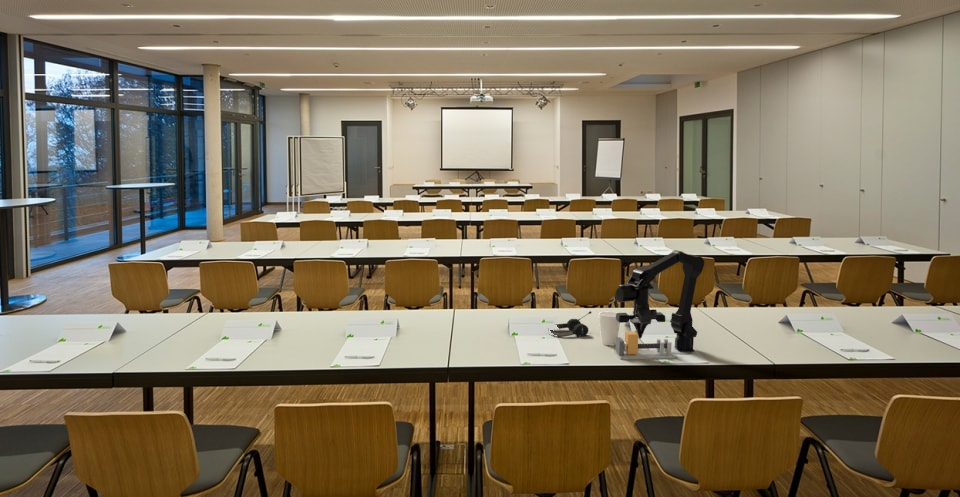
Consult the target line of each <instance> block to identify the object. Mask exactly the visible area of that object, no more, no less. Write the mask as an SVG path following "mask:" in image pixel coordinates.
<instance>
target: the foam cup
mask: <svg viewBox="0 0 960 497" xmlns="http://www.w3.org/2000/svg"><path fill="white" fill-rule="evenodd" d="M617 313H619V312H618V311H612V310H611V311H607V310H606V311H605V310H604V311H600V312H598V324H599V332H600V341H601V344H602V345H603V344H604V346H608V345H612V346H616V337H619V332H620V325H621V323H620V322H618V321H617V320H616V314H617Z"/></svg>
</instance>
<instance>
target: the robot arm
mask: <svg viewBox="0 0 960 497" xmlns="http://www.w3.org/2000/svg"><path fill="white" fill-rule="evenodd" d="M678 263H681V264H682V270H683V274H684V278H683V281H682V282H683V283H682V287H681V294H680V300H679V304H678V309H677V310H676V312H671V317H670V320H669V323H670V327H671V328H672V330H673V333H674V334H676V337H675V338H674V349H675V350H677V351H678V352H695V349H694V341H695V340H694V338H696V337H697V335H698V330H696V329H695V328H694V326H693V317H692V312H691V310H692V306H693V300H694V296H695V295H694V294H695V290H696V284H697V282H698V281H697V280H698V277H699V276H700V275H701V274H702V273H703V269H704V267H705V259H704V258H703V257H702V256H700V255H695V254H690V253H689V254H688V253H685V252H684V251H681V250H677V249H676V250H673V251H671V252H670V253H669V254H667V255H665V256H664V257H661V258H659V259H658V260H656V261H654V262H653V263H651V264H648V265H643V266H639V267H637V268H635V269H634V270H633V271H632V274H631V276H630V277H629V279H628V281H627V282H626V284H618V288H617V289H616V291H615V299H616V301H617V302H619V303H625V302H632V304H633V311H632V314H628V313H627V312H618V313H617V314H616V320H617V321H618V322H620V324H621V323H624V324H625V323H629V322H630V323H631V324H632V325H634V327H635V328H634V329H635V332H636V333H637V334H638V340H640V339H642V337H643V335H644V332H645V330H646V328H647V326H649V325H651V324H652V322H653V321H652V320H655V321H656V322H657V323H665V322H666V315H665V314H664V313H662V312H660V311H657V309H650V304H649V293H650V290H653V289H654V288H655V287H654V286H653V285H652V284H651V282H653V281H654V280H655V278H656V277H657V275H659V274H660V273H662V272H664V271H666V270H667V269H669V268H671V267H673V266H674V265H676V264H678Z"/></svg>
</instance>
